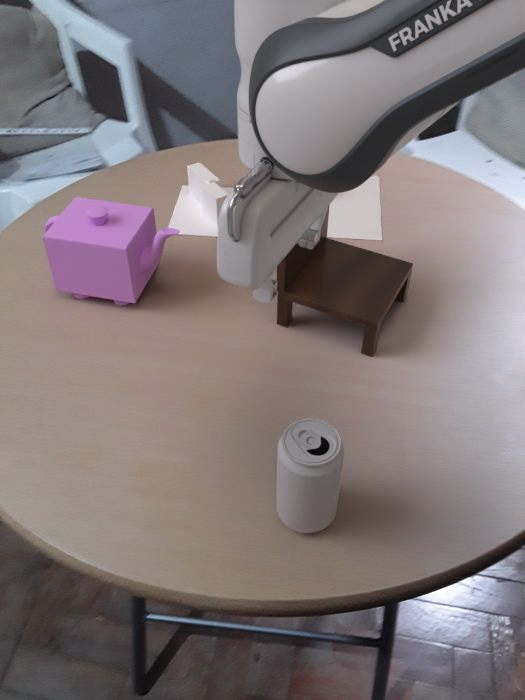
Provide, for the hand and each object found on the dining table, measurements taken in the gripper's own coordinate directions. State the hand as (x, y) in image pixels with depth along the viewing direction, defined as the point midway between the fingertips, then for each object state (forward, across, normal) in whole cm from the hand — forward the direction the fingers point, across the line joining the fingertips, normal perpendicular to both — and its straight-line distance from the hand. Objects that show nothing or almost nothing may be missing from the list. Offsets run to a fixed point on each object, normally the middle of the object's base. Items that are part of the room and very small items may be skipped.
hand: (287, 270), depth 65 cm
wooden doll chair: (+23, +22, +2) cm, 32 cm away
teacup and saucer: (+23, +46, +16) cm, 54 cm away
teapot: (+23, +12, +33) cm, 42 cm away
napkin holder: (+23, +35, +32) cm, 53 cm away
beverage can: (+23, -10, -7) cm, 26 cm away
